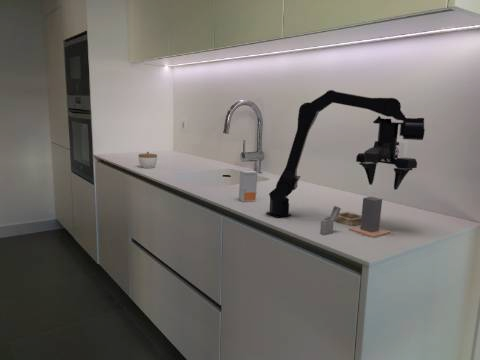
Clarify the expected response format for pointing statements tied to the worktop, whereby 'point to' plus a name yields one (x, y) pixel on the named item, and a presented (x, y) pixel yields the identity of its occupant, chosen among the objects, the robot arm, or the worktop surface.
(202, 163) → the worktop surface
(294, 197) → the worktop surface
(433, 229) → the worktop surface
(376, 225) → the dark grey block
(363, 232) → the tile
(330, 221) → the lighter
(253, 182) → the skincare box
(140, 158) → the lidded jar
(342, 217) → the wooden square frame
